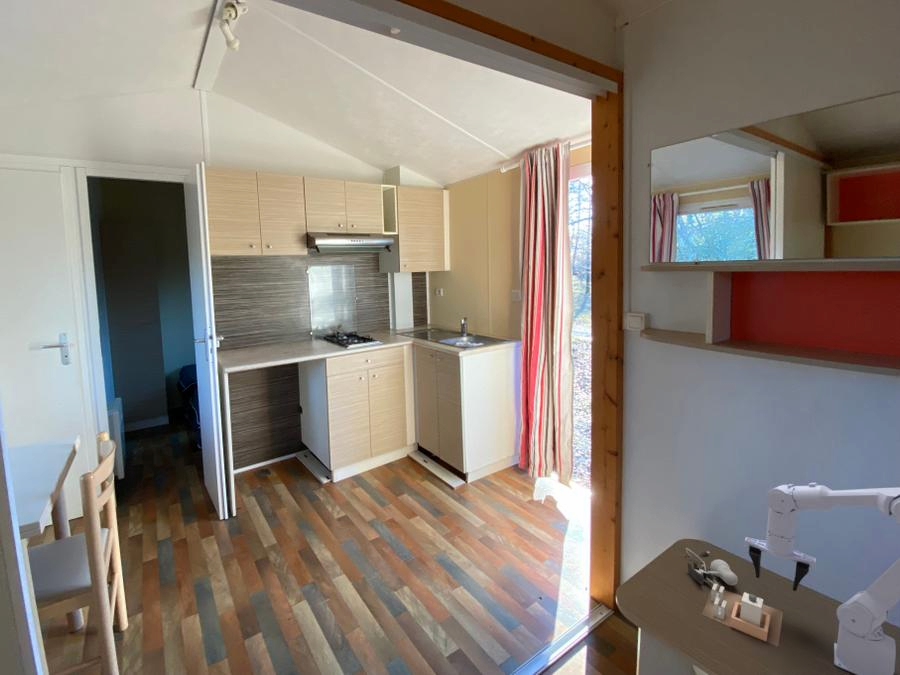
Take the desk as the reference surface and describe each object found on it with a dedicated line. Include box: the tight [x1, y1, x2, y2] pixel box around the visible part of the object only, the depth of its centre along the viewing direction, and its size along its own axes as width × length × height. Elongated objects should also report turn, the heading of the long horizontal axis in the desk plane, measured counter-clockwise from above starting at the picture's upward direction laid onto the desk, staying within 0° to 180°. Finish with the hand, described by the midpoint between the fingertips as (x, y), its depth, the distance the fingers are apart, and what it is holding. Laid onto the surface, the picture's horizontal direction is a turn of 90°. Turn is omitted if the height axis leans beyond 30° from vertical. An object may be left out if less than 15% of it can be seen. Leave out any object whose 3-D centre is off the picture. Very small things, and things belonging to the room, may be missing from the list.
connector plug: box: [740, 591, 764, 627], centre depth 111 cm, size 4×4×8 cm
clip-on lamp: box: [685, 547, 739, 588], centre depth 133 cm, size 12×6×18 cm
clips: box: [711, 582, 727, 620], centre depth 118 cm, size 4×9×3 cm, turn 140°
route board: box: [701, 586, 784, 648], centre depth 116 cm, size 16×15×1 cm
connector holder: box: [730, 602, 770, 642], centre depth 112 cm, size 7×7×2 cm
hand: (775, 582), depth 115 cm, fingers open, 7 cm apart
